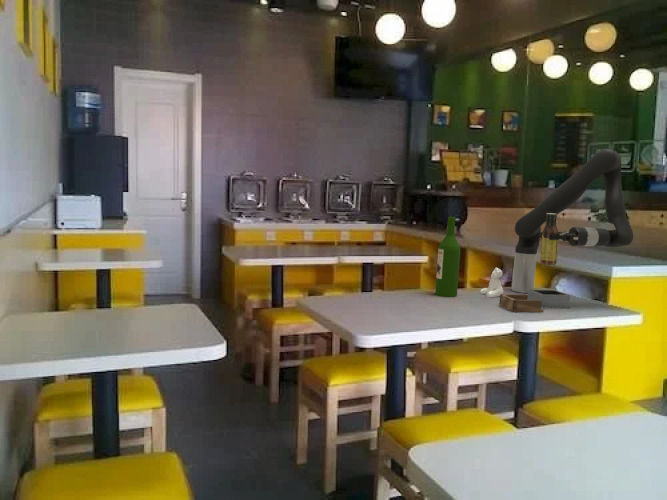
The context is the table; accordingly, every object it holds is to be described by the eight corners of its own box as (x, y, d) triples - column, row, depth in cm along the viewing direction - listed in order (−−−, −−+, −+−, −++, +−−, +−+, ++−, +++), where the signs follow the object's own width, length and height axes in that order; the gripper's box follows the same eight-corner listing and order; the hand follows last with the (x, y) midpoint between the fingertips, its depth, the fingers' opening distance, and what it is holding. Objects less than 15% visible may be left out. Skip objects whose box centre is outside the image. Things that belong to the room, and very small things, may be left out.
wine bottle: (431, 293, 260) (436, 215, 256) (450, 292, 263) (455, 216, 259) (441, 297, 252) (447, 217, 248) (461, 296, 255) (467, 218, 251)
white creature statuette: (478, 293, 266) (481, 265, 264) (497, 293, 267) (500, 266, 266) (487, 297, 256) (490, 269, 255) (507, 298, 258) (509, 269, 256)
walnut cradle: (499, 305, 241) (500, 294, 240) (527, 305, 243) (528, 294, 243) (513, 312, 229) (514, 300, 229) (543, 312, 232) (544, 300, 231)
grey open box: (527, 301, 251) (528, 289, 251) (554, 302, 254) (555, 290, 253) (541, 307, 241) (542, 295, 240) (569, 307, 243) (570, 295, 242)
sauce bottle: (546, 262, 248) (550, 212, 245) (559, 264, 243) (564, 213, 240) (536, 263, 244) (540, 212, 241) (550, 265, 239) (554, 214, 236)
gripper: (573, 225, 251) (535, 224, 248) (595, 229, 237) (555, 228, 234) (571, 244, 252) (534, 243, 249) (593, 248, 238) (554, 247, 235)
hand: (544, 235), depth 241 cm, fingers closed on sauce bottle, 6 cm apart
